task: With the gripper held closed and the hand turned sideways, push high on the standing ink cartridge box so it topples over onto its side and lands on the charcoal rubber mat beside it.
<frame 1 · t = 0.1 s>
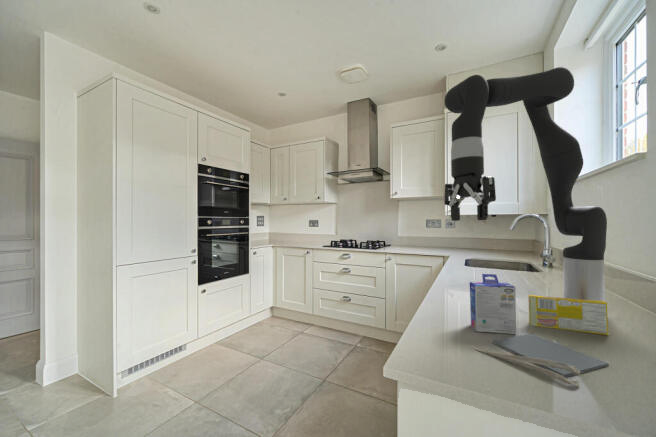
hand: (468, 220, 70), 29 cm above the counter, tool pointing down, fingers open, 8 cm apart
animal jaw bone: (521, 364, 54), on the counter, touching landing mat
ink cartridge box: (492, 330, 72), on the counter
candy box: (566, 329, 72), on the counter
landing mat: (545, 353, 59), on the counter
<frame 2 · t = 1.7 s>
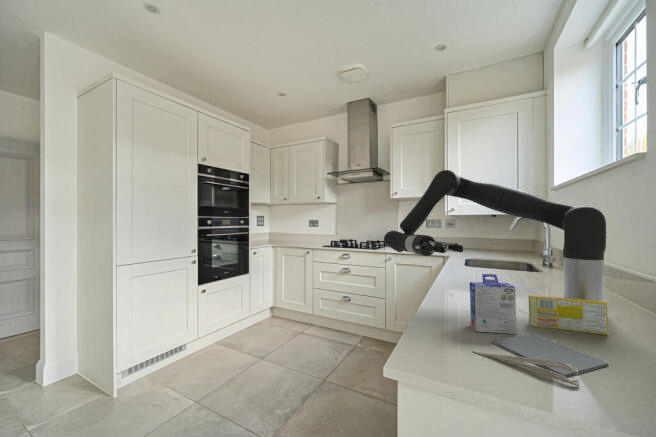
hand: (453, 249, 85), 20 cm above the counter, tool horizontal, fingers open, 6 cm apart
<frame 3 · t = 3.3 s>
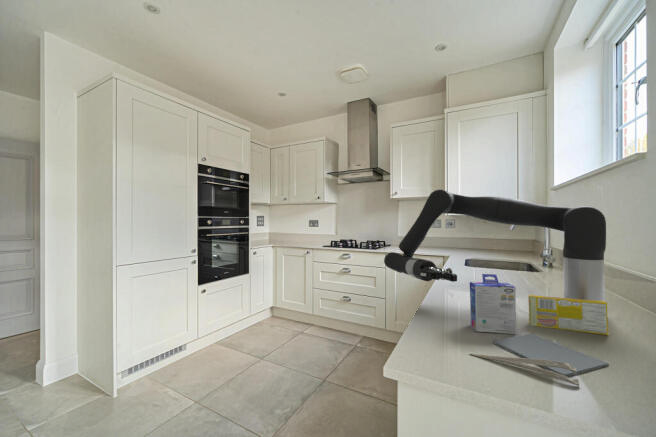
hand: (455, 278, 84), 11 cm above the counter, tool horizontal, fingers closed
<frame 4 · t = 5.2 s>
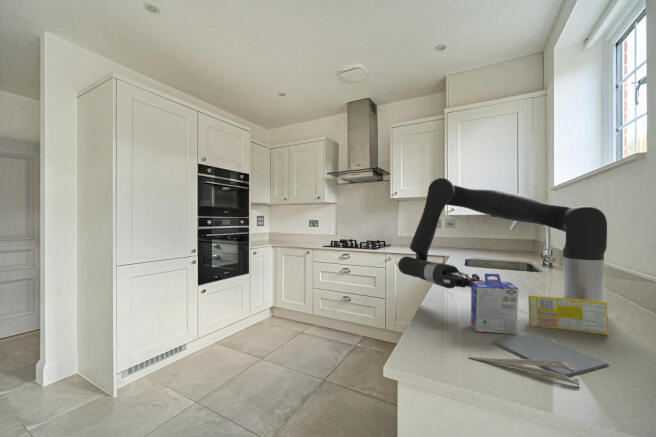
hand: (485, 285, 74), 11 cm above the counter, tool horizontal, fingers closed
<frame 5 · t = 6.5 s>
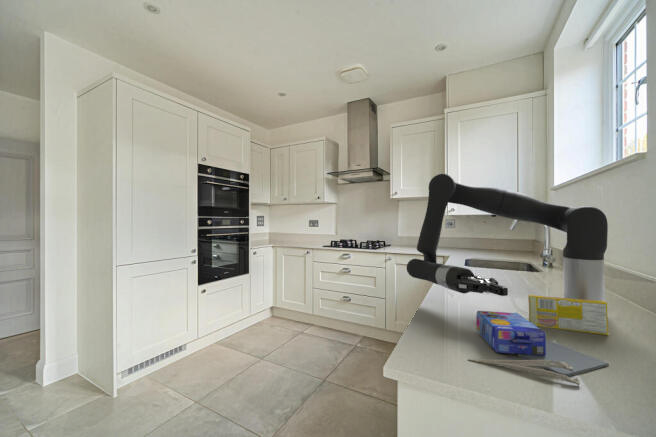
hand: (505, 291, 68), 11 cm above the counter, tool horizontal, fingers closed
ink cartridge box: (496, 320, 69), point 3 cm above the counter, touching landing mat
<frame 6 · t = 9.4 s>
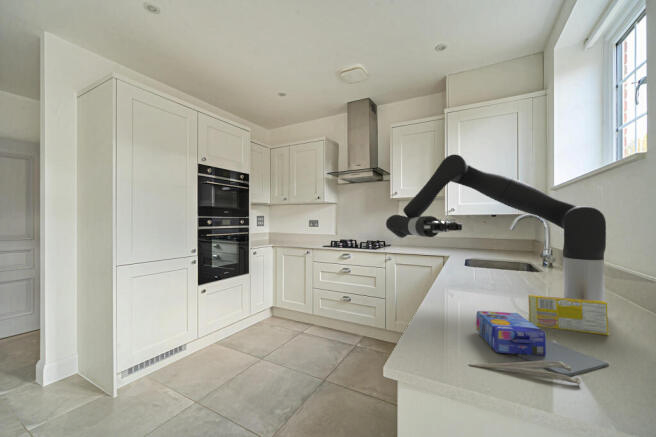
hand: (460, 226, 82), 27 cm above the counter, tool horizontal, fingers closed
animal jaw bone: (518, 372, 52), on the counter, touching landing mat
everything else where it was.
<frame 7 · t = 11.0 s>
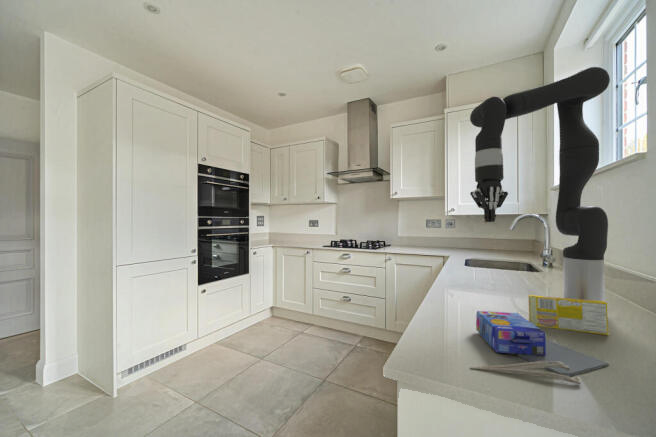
hand: (490, 221, 83), 29 cm above the counter, tool pointing down, fingers closed
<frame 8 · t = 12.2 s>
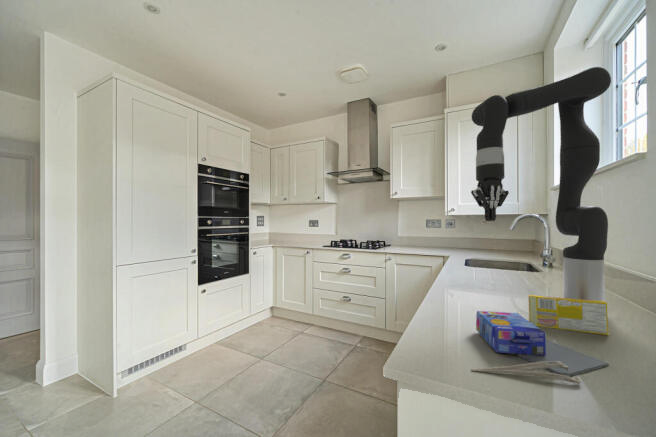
hand: (490, 220, 82), 29 cm above the counter, tool pointing down, fingers closed
at the end: ink cartridge box tilted 91°; ink cartridge box inside the target area (6.8 cm from its centre), point 3.3 cm above the counter; ink cartridge box touching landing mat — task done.
